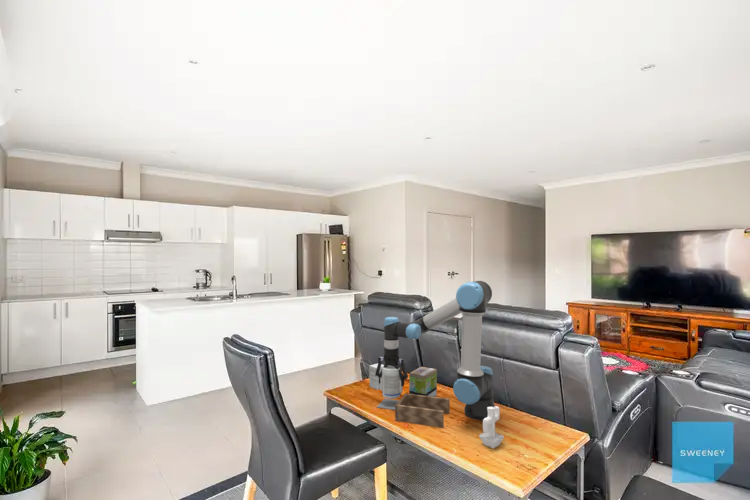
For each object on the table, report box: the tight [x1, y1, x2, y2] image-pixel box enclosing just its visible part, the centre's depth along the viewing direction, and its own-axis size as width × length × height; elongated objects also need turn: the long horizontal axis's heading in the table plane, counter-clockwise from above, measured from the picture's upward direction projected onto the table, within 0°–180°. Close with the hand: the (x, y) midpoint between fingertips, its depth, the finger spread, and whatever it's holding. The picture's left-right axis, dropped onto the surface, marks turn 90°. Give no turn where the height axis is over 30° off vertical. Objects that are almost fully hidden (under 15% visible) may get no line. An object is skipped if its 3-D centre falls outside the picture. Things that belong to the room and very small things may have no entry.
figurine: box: [478, 405, 505, 449], centre depth 155 cm, size 7×9×15 cm
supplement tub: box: [381, 366, 402, 400], centre depth 197 cm, size 10×10×15 cm
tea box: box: [408, 366, 438, 397], centre depth 206 cm, size 15×10×15 cm, turn 148°
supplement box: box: [368, 362, 385, 391], centre depth 224 cm, size 7×7×13 cm
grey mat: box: [376, 398, 400, 411], centre depth 197 cm, size 12×12×1 cm
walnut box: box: [394, 393, 451, 429], centre depth 182 cm, size 22×17×7 cm
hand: (391, 391), depth 197 cm, fingers closed on supplement tub, 10 cm apart
